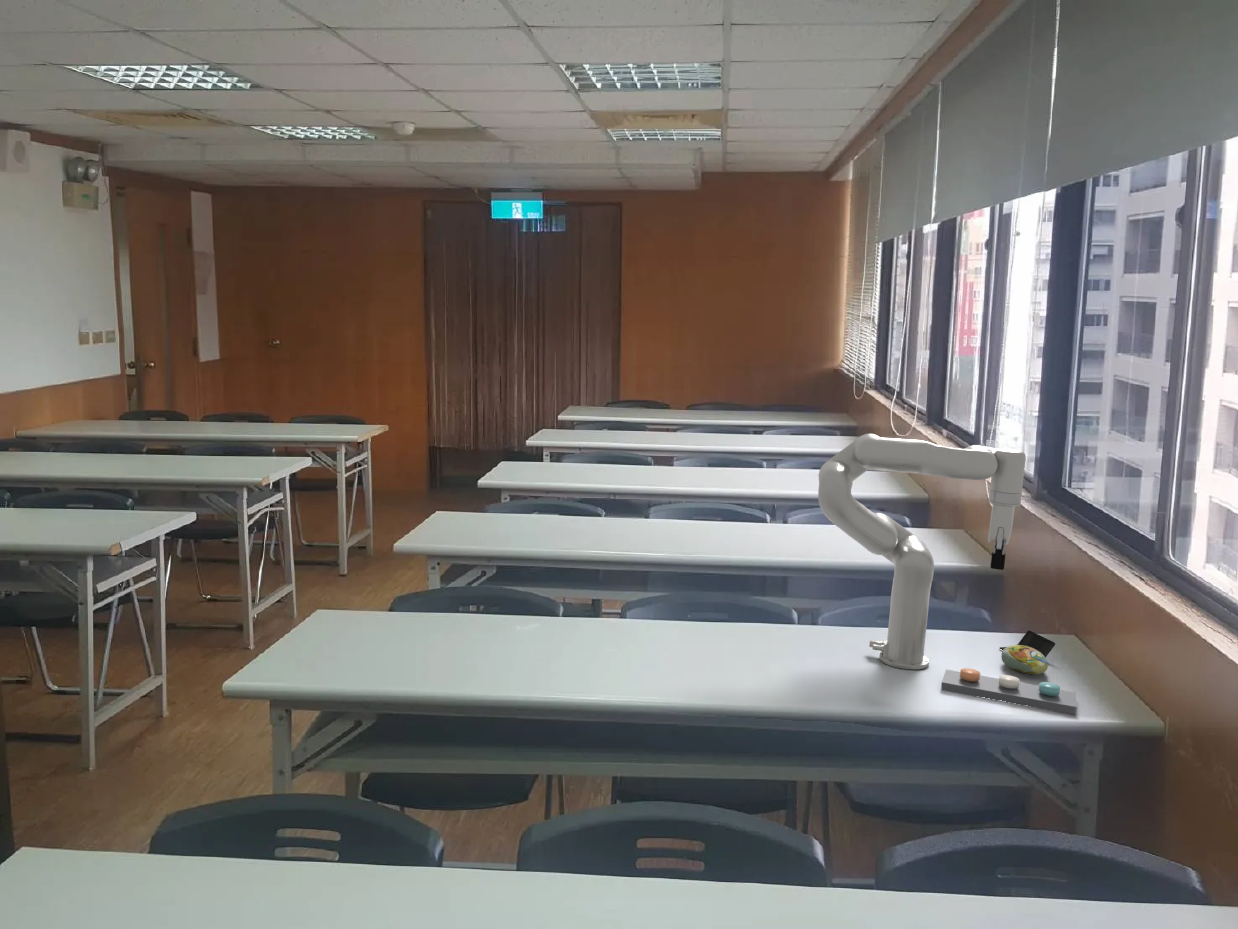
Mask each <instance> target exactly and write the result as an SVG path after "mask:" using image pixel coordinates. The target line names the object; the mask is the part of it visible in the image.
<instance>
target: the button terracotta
mask: <svg viewBox="0 0 1238 929" xmlns="http://www.w3.org/2000/svg"><path fill="white" fill-rule="evenodd" d="M959 672H960V678H962V679H964V680H967V681H979V680H980V676H981V672H980V671H979V670H976V669H973V668H966V667H965V668H961V669H960V671H959Z"/></svg>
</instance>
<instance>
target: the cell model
mask: <svg viewBox="0 0 1238 929" xmlns="http://www.w3.org/2000/svg"><path fill="white" fill-rule="evenodd" d="M1005 647H1006V648H1005V649H1004V650H1003V651H1001V657H1000V658H1001V662H1002V663H1003V664H1004V665H1005V666H1007V667H1008V668H1010V669H1011V670H1012V671H1016V672H1019V673H1023V674H1028V675H1041V674H1043V673H1045V672H1047V670H1048V668H1049V664H1048V660H1047V657H1046V658H1045V657H1044V655H1043V654H1041V653H1040V652H1039V651H1037V650H1035V649H1033V648H1031V647H1028V646H1023V645H1017V644H1015V645H1013V644H1012V645H1009V646H1005Z"/></svg>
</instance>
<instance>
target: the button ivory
mask: <svg viewBox="0 0 1238 929" xmlns="http://www.w3.org/2000/svg"><path fill="white" fill-rule="evenodd" d="M998 679H999V685H1001V686H1003V687H1006V688H1012V689H1015V688H1018V687H1019V682H1020V679H1019V678H1018V677H1016V676H1013V675H1010V674H1009V675H1008V674H1002V675H999V677H998ZM1020 683H1021V682H1020Z"/></svg>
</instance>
